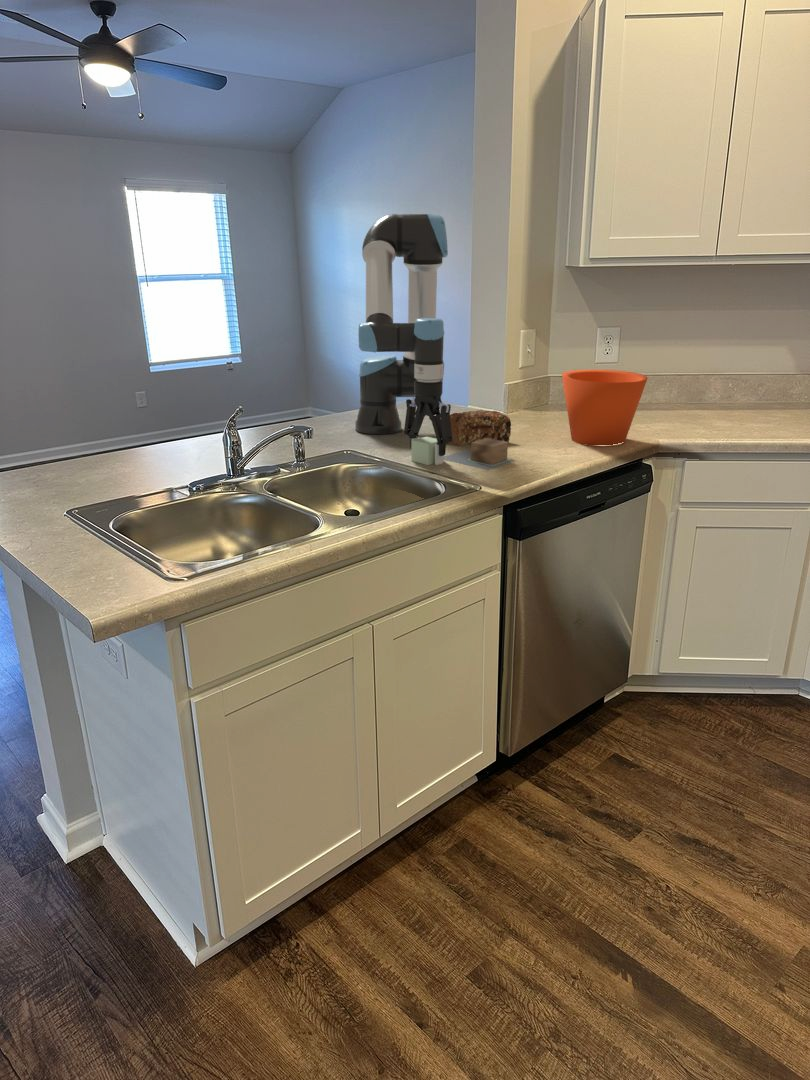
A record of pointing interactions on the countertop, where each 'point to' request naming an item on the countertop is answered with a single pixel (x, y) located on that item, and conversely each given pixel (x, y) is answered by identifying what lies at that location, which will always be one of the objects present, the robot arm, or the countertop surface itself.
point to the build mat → (465, 459)
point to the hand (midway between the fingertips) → (427, 464)
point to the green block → (424, 450)
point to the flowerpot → (601, 404)
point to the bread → (479, 426)
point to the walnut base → (489, 451)
